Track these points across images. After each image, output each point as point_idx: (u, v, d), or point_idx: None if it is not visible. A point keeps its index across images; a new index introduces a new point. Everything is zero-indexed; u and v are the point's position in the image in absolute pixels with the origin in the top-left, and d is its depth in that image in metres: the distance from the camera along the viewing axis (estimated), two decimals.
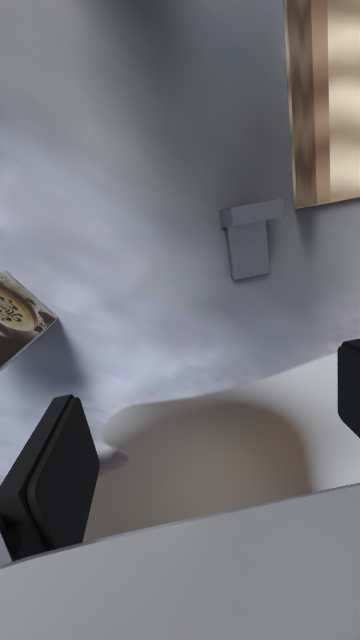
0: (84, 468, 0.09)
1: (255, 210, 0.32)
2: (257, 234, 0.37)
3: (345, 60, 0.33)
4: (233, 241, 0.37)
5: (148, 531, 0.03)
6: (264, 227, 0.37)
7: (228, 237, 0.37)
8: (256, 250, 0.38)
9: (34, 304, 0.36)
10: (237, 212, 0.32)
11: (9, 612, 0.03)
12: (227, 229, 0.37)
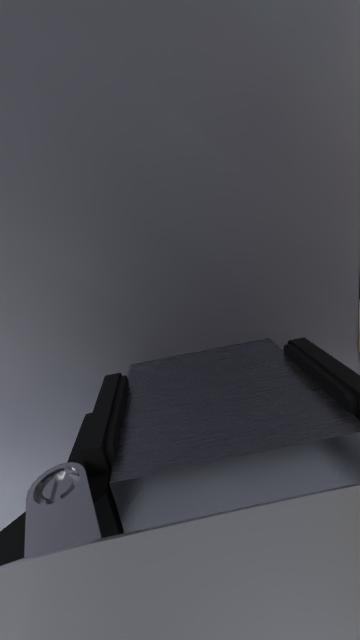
0: None
1: (230, 486, 0.07)
2: None
3: None
4: None
5: (148, 531, 0.03)
6: None
7: None
8: None
9: None
10: (144, 498, 0.07)
11: (9, 612, 0.03)
12: None
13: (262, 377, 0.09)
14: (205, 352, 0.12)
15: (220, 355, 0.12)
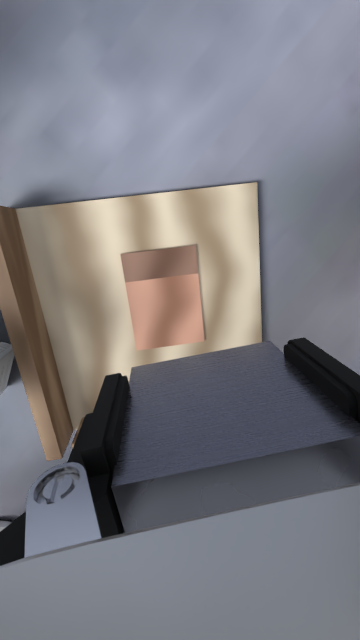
0: None
1: (231, 490, 0.07)
2: None
3: None
4: None
5: (148, 531, 0.03)
6: None
7: None
8: None
9: None
10: (146, 502, 0.07)
11: (9, 612, 0.03)
12: None
13: (262, 380, 0.09)
14: (205, 354, 0.12)
15: (220, 357, 0.12)
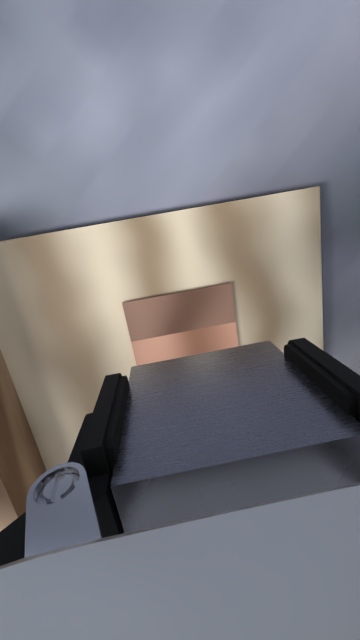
0: None
1: (231, 490, 0.07)
2: None
3: None
4: None
5: (148, 531, 0.03)
6: None
7: None
8: None
9: None
10: (145, 501, 0.07)
11: (9, 612, 0.03)
12: None
13: (262, 379, 0.09)
14: (205, 354, 0.12)
15: (220, 356, 0.12)
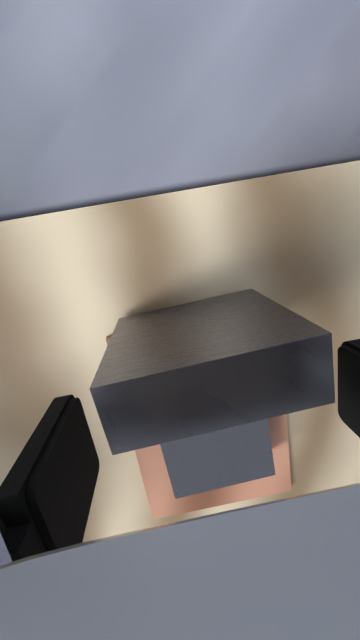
0: (84, 468, 0.09)
1: (203, 392, 0.07)
2: None
3: None
4: None
5: (148, 531, 0.03)
6: None
7: None
8: (234, 426, 0.13)
9: None
10: (123, 404, 0.07)
11: (9, 612, 0.03)
12: None
13: (240, 312, 0.10)
14: (189, 303, 0.12)
15: (203, 303, 0.12)
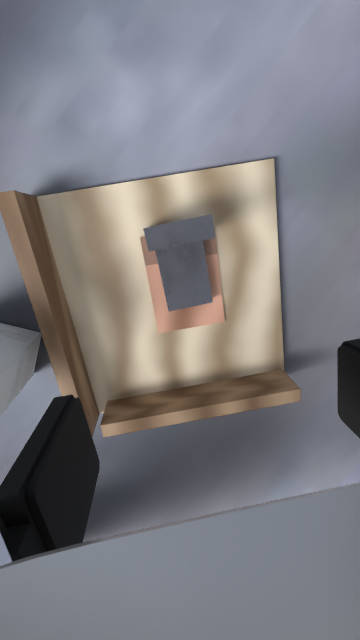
0: (84, 468, 0.09)
1: (175, 231, 0.25)
2: (193, 256, 0.30)
3: (162, 354, 0.35)
4: (163, 265, 0.30)
5: (148, 531, 0.03)
6: (201, 247, 0.30)
7: (157, 260, 0.30)
8: (193, 275, 0.30)
9: None
10: (152, 234, 0.25)
11: (9, 612, 0.03)
12: None
13: None
14: None
15: None
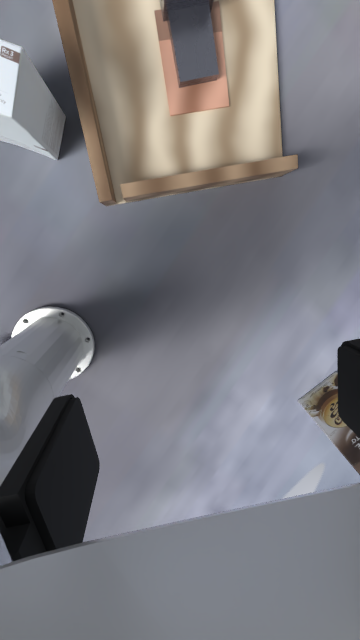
0: (84, 468, 0.09)
1: None
2: (201, 23, 0.34)
3: (173, 141, 0.39)
4: (175, 31, 0.34)
5: (148, 531, 0.03)
6: (208, 14, 0.34)
7: (170, 28, 0.34)
8: (201, 44, 0.35)
9: (328, 387, 0.51)
10: None
11: (9, 612, 0.03)
12: (168, 18, 0.34)
13: None
14: None
15: None
